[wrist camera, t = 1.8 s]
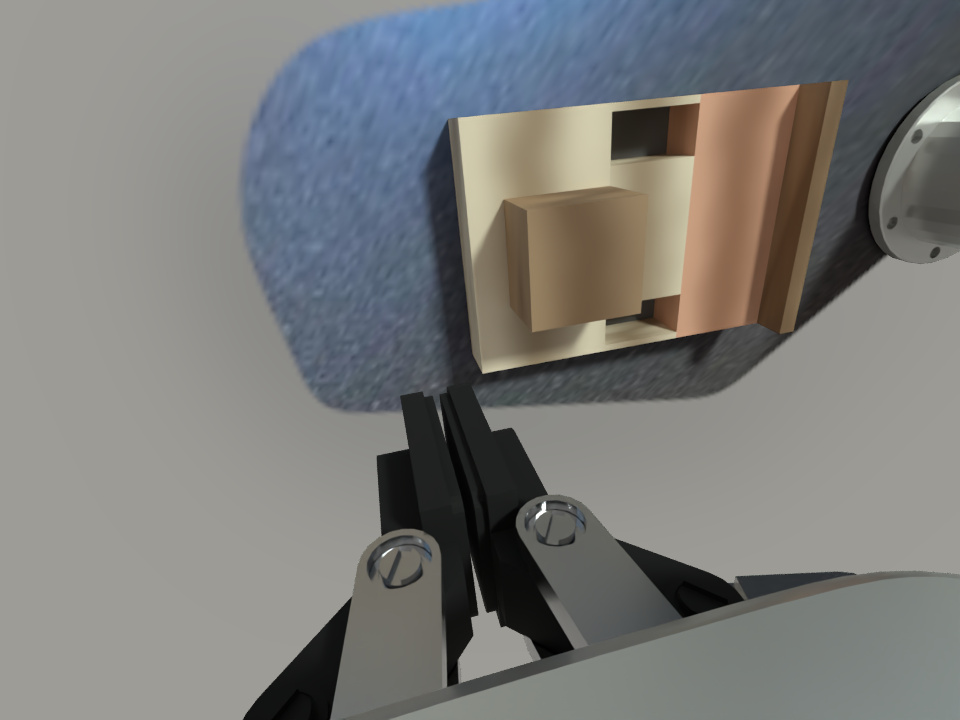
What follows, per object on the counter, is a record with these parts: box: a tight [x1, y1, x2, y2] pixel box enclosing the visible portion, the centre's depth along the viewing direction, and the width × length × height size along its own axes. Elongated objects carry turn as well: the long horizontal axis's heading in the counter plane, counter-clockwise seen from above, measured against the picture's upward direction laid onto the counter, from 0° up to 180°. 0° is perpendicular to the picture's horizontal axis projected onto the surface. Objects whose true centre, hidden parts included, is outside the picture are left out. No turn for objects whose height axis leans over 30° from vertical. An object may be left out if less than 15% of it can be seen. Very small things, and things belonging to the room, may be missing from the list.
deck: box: [448, 80, 848, 374], centre depth 28 cm, size 20×14×5 cm
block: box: [504, 186, 649, 332], centre depth 25 cm, size 6×6×4 cm
